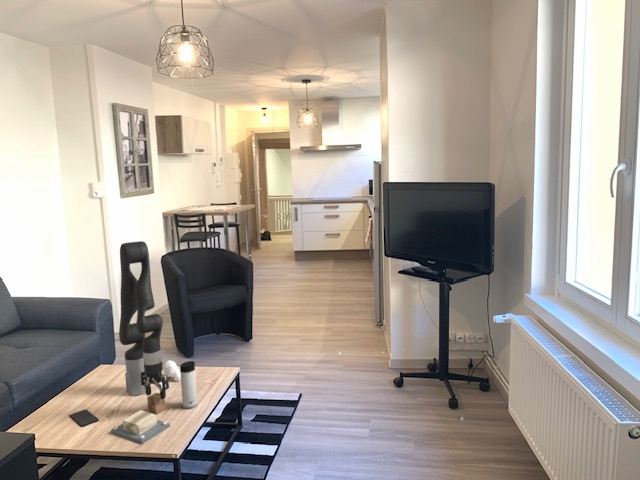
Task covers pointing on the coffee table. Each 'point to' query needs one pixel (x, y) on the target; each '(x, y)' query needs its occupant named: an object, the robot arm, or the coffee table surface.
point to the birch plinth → (139, 422)
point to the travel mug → (188, 384)
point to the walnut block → (155, 404)
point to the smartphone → (83, 418)
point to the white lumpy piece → (172, 370)
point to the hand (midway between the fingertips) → (155, 396)
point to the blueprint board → (145, 435)
